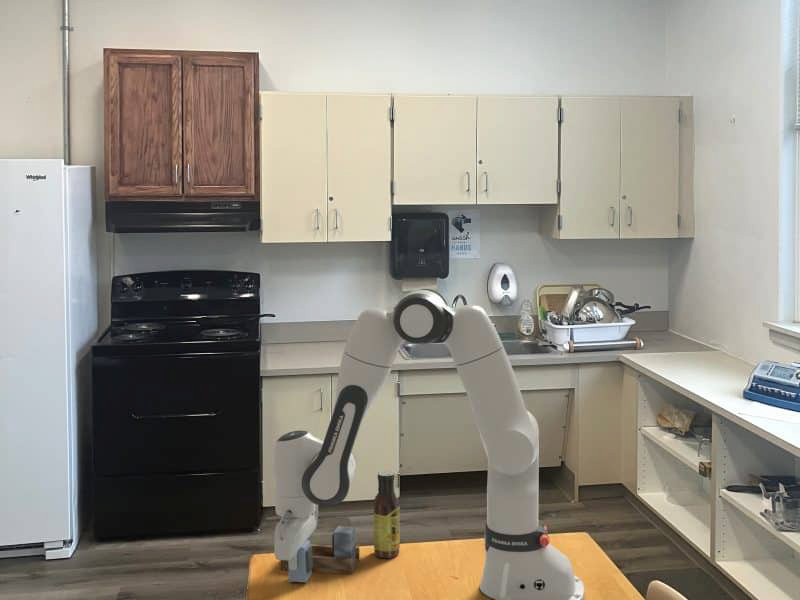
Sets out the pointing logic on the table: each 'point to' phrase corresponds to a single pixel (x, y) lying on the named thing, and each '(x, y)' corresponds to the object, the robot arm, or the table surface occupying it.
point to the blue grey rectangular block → (302, 564)
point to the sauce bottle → (386, 518)
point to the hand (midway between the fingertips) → (297, 563)
